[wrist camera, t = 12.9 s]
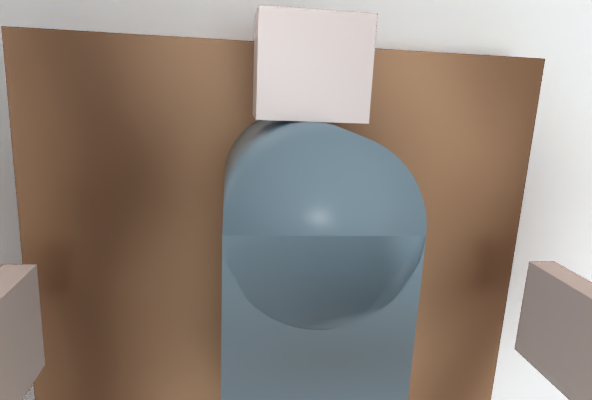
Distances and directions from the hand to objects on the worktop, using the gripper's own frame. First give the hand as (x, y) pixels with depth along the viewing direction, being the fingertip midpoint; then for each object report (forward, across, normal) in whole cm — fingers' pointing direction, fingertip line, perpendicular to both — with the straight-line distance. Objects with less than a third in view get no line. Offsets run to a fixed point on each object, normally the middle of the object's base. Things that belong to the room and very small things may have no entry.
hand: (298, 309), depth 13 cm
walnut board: (+5, 0, 0) cm, 5 cm away
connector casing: (+3, 0, +1) cm, 3 cm away
